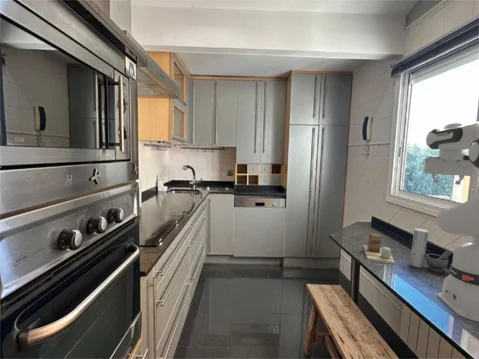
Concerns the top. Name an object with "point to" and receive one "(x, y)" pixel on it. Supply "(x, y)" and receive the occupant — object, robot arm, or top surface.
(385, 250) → the canister
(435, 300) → the top surface
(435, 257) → the mortar and pestle
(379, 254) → the board
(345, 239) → the top surface
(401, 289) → the top surface
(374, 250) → the base block
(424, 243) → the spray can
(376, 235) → the top block
